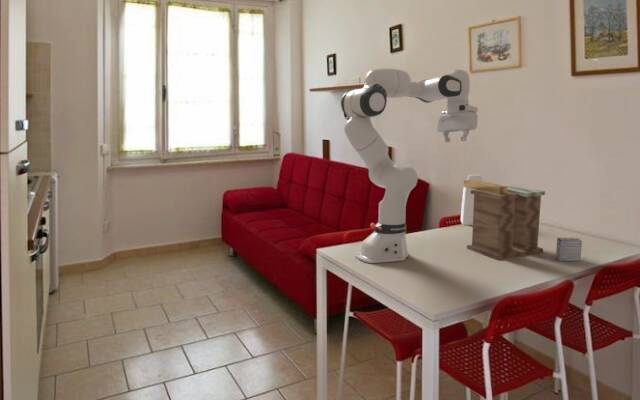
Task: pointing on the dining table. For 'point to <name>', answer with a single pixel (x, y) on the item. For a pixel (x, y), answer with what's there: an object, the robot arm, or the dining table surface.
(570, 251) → the medicine box
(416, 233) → the dining table surface
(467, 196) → the milk
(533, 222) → the twin stand
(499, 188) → the oak bar
